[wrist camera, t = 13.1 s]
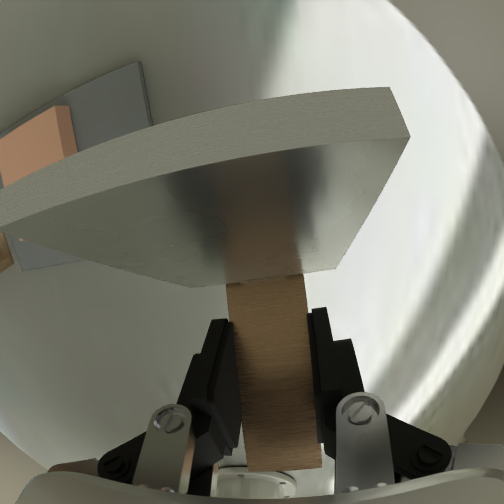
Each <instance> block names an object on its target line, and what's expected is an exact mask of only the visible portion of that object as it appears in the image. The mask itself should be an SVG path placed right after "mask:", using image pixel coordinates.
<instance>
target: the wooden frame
mask: <svg viewBox="0 0 504 504" xmlns="http://www.w3.org/2000/svg"><path fill="white" fill-rule="evenodd" d="M12 264H14V262H13V259H12V257H11V254H10V251H9V249H8V246H7V243H6V240H5V237H4V234H3V232H0V273H1V272H2V271H4V270H5V269H7V268H8V267H9V266H11V265H12Z"/></svg>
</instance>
